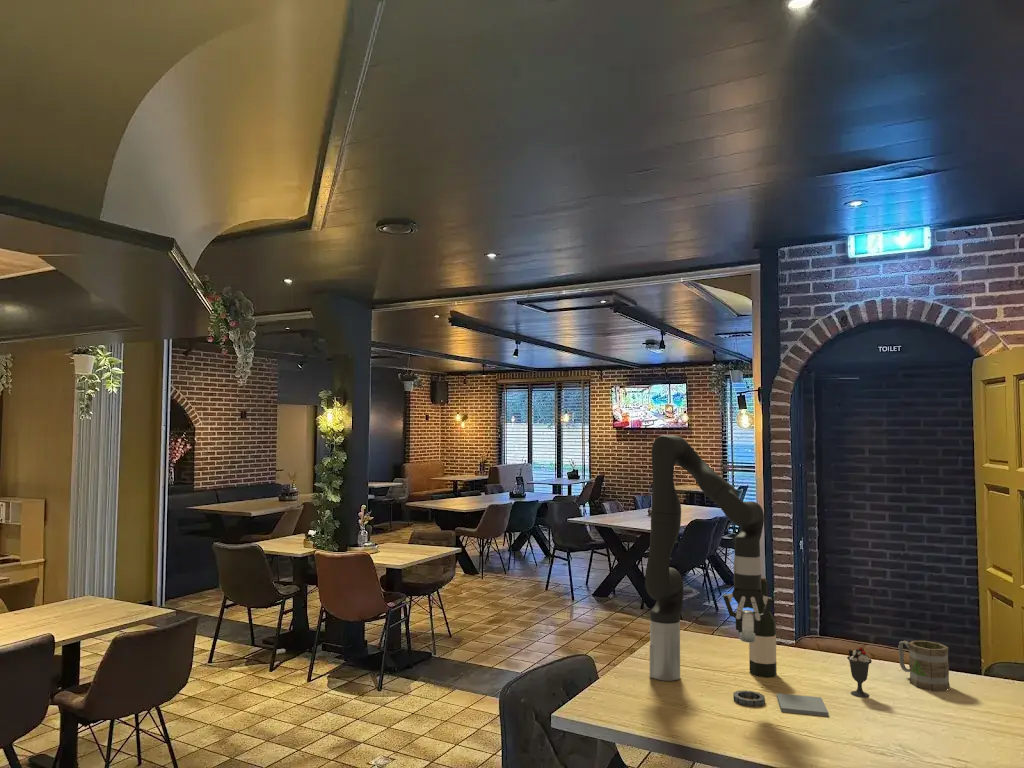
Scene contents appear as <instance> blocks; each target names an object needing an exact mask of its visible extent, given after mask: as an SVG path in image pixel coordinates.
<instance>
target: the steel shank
mask: <svg viewBox="0 0 1024 768" xmlns="http://www.w3.org/2000/svg"><path fill="white" fill-rule="evenodd" d="M740 619H741V633H740V641H742V642H745V643H749V642H755V613H754V610H747V609H744V610H742V613H741V617H740Z"/></svg>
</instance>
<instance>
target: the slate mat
mask: <svg viewBox="0 0 1024 768" xmlns="http://www.w3.org/2000/svg"><path fill="white" fill-rule="evenodd" d="M776 698H777V702H778V703H777V704H778V706H779V709H780V711H781V713H791V714H803V715H810V716H811V715H812V716H820V717H829V710H828V708H827V706H826V704H825V702H824V701H823V698H822V697H821V696H810V695H799V694H792V693H791V694H790V693H780V692H779V693H778V692H776Z"/></svg>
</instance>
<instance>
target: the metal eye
mask: <svg viewBox="0 0 1024 768" xmlns="http://www.w3.org/2000/svg"><path fill="white" fill-rule="evenodd" d="M732 694H733V702H735V703H737V704H738V705H741V706H742V705H743V706H745V707H755V708H756V707H763V706H764V705H766V698H765V695H763V694H762V693H760V692H757V691H752V690H744V689H743V690H736V691H734V692H733V693H732ZM750 698H751V699H750Z"/></svg>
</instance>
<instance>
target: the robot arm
mask: <svg viewBox="0 0 1024 768" xmlns="http://www.w3.org/2000/svg"><path fill="white" fill-rule="evenodd" d="M675 465H677V466H679V467H681V468H682V469H684V470H685V471H687V472H688V473H689V474H690V475H691V476H692V478H694V480H695V482H696V484H697V486H698V487H699V488H700V490H701V491H702V492H703V493H704V494H705V496H707V498H709V499H710V500H712V501H713V502H714V503H715V504H716V505H718V506H719V508H720V509H721V511H722V512H723V514H724V515H725V516H726V517H727V519H728V520H729V521H730V522H732V523H733V524H734V525H736V526H738V527H740V531H739V534H737V535H736V536H735V537H734V543H733V545H734V547H733V549H734V557H733V558H734V559H733V567H732V569H733V590H732V593H729V594H727V593H725V594H723V595H722V597H723V599H724V600H723V602H724V603H725V606H726V608H727V611H728V615H729V616H730V617H732V618H735V630H736V631H737V632H738V633H740V634H741V619H740V617H741V613H742V610H743V609H746V608H747V609H753V610H752V611H754V613H755V634H758V632H760V621H761V620H762V619H766V618H767V616H768V613H769V610H770V611H771V607H772V604H773V599H772V597H769V596H767V597H766V596H763V594H762V591H761V577H762V562H761V544H760V541H761V537H762V533H763V530H764V529H763V528H764V523H765V515H764V511H763V510H764V509H763V508H762V505H760V504H759V503H758V502H756V501H751V500H750V501H743V500H742V499H741V498H739V496H738V491H737V489H736V488H735V487H734V486H732V485H731V483H729V482H728V481H727V480H726V479H724V478H723V477H722V476H720V475H719V474H718V473H717V472H716V471H715V470H714V469H712V467H710V465H708V463H706V462H705V461H704V460H703V459H702V457H700V455H699V454H698V453H697V452H696V451H695V449H694V448H693V447H692V446H691V445H690V444H689V443H688V441H687V440H685V438H683V437H682V436H679V435H667V434H664V435H659V436H656V438H655V439H654V441H653V442H652V445H651V467H652V468H651V469H652V491H651V493H652V494H651V495H652V498H651V512H650V514H651V515H650V537H649V549H648V551H649V553H648V560H647V567H646V572H645V580H644V581H645V590H646V592H647V594H648V595H649V597H650V598H651V599H652V600H655V601H656V602H655V604H654V606H653V607H652V608H651V609H650V611H649V614H650V615H649V637H650V638H649V641H650V642H649V678H651V679H655V680H657V681H658V680H659V681H664V682H665V681H667V682H672V681H677V680H680V679H681V615H682V612H683V606H684V603H683V602H684V581H683V577H682V575H681V574H680V572H679V571H678V570H677V569H676V568H675V567H670V563H671V562H670V560H671V554H672V551H673V549H674V546H675V543H676V541H677V539H678V536H679V533H680V530H681V524H682V506H681V501H680V498H679V496H678V493H677V489H676V487H675V482H674V467H675ZM733 599H734V600H735V602H736V603H737V607H736V611H733V607H732V605H731V602H732V601H733ZM762 599H763V600H764V604H765V607H764V610H763V613H762V614H759V611H758V608H757V605H758V604H759V603H760V601H761V600H762Z"/></svg>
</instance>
